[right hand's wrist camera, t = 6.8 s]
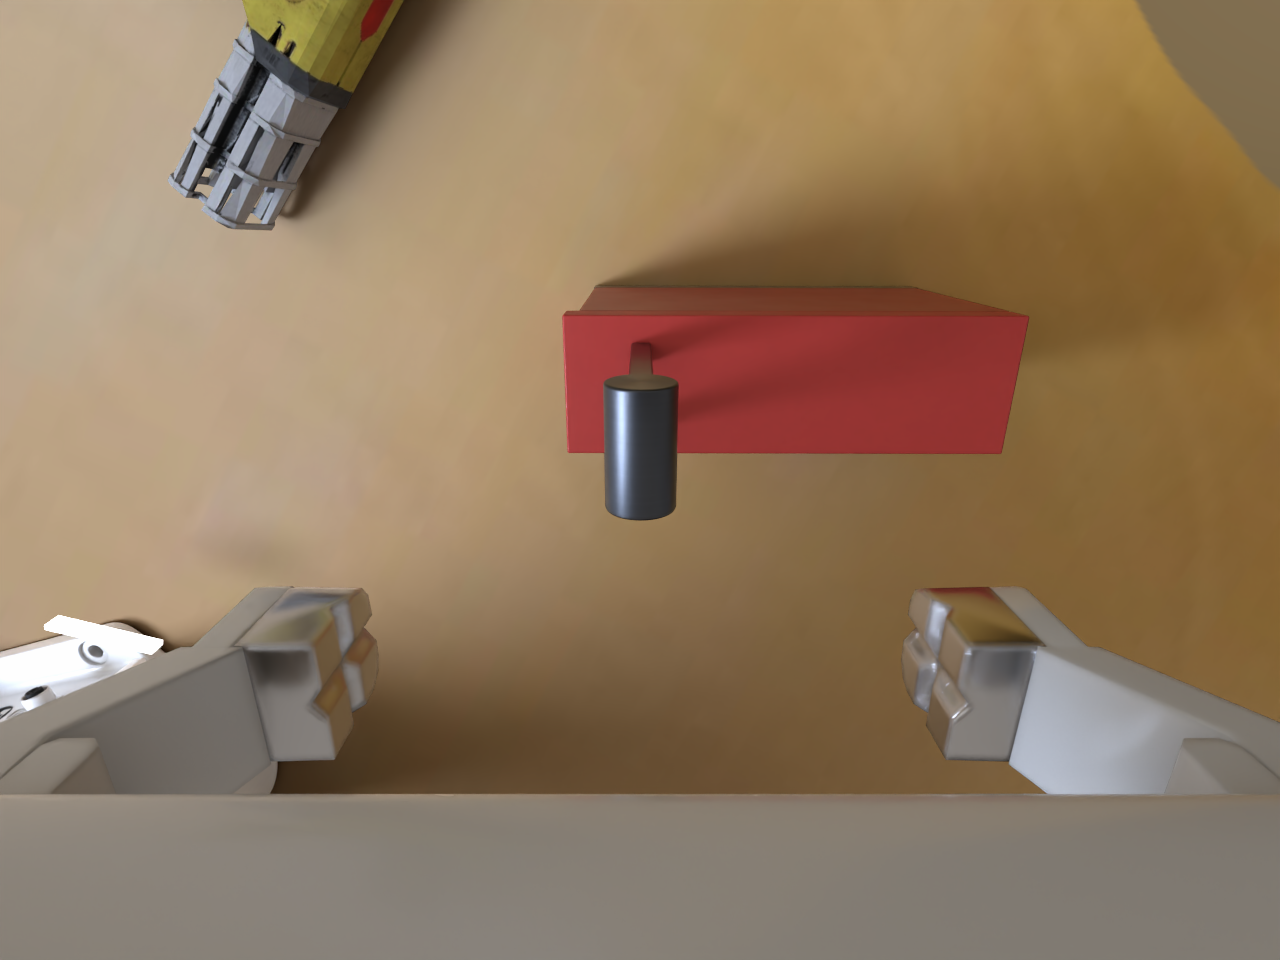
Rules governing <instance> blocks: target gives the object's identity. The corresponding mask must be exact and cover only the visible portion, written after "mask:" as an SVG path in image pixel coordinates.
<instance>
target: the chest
mask: <svg viewBox="0 0 1280 960" xmlns="http://www.w3.org/2000/svg"><path fill="white" fill-rule="evenodd" d="M580 311H849V312H1009V311H1006V310H1002V309H998V308H994V307H990V306H986V305H981V304H977V303H973V302H969V301H965V300H961V299H957V298H953V297H949V296H945V295H941V294H937V293H933V292H929V291H925V290H921V289H918V288H915V287H911V286H595V287H594V290H593V292H592V293H591V295H590V296H589V298H588V299H587V300H586V302H585V303H584V305H583V306H582V308H581V309H580Z"/></svg>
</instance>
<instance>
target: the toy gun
mask: <svg viewBox="0 0 1280 960" xmlns="http://www.w3.org/2000/svg"><path fill="white" fill-rule="evenodd" d="M242 1H243V4H244V8H245V12H246V15H247V20H246V22H245V25H244V27H243V29H242V31H241V33H240V35H239V37H238V39H235V40H234V43H233V48H234V50H233V52H232V54H231V56H230V57H229V59H228V61H227V63H226V65H225V67H224V69H223V71H222V72H221V74H220V76H219V78H216V80H215V82H214V86H215V88H214V90H213V92H212V94H211V96H210V98H209V100H208V102H207V104H206V106H205V108H204V110H203V112H202V115H201V117H200V119H199V121H198V123H197V125H196V127H194V128H193V129H192V131H191V137H192V139H191V141H190V143H189V145H188V147H187V149H186V151H185V153H184V154H183V156H182V158H181V160H180V162H179V164H178V166H177V168H176V170H175V172H174V173H172V174H171V175H170V176H169V179H168V182H169V183H170V184H171V186H172V187H173V188H175V189H176V190H177V191H178V192H179V193H181V194H182V195H183V196H184V197H187V198H198V199H199V200H201V201H202V202H203V203H204V204H205V205H204V207H203V208H202V211H204V212H205V213H206V214H207V215H209V216H210V217H211V218H213V219H214V220H215V221H217V222H218V223H220V224H222V225H224V226H226V227H227V228H231V229H248V230H272V229H273V228H274V226H275V220H276V218H277V216H278V214H279V212H280V211H281V209H282V207H283V205H284V204H285V202H286V200H287V198H288V197H289V195H290V193H291V191H292V190H295V189H296V186H297V180H298V178H299V176H300V174H301V173H302V171H303V169H304V167H305V165H306V164H307V162H308V160H309V158H310V157H311V155H312V153H313V151H314V149H315V148H316V147H318V146H319V145H320V143H321V140H320V138H321V136H322V135H323V133H324V132H325V130H326V128H327V127H328V125H329V124H330V122H331V120H332V119H333V117H334V116H335V114H336V113H337V111H338V109H339V108H341V109H345V108H346V106H347V104H348V102H349V100H350V98H351V96H352V94H353V92H354V90H355V88H356V86H357V84H358V83H359V81H360V79H361V77H362V75H363V74H364V72H365V70H366V68H367V66H368V64H369V63H370V61H371V59H372V57H373V55H374V54H375V52H376V50H377V48H378V46H379V45H380V43H381V41H382V39H383V37H384V35H385V34H386V32H387V30H388V28H389V26H390V25H391V23H392V21H393V19H394V17H395V15H396V14H397V12H398V10H399V8H400V6H401V5H402V3H403V1H404V0H242ZM205 168H210V169H212V171H211V173H210V175H209V177H203V176H202V174H203V172H204V170H205ZM181 183H182V184H181ZM197 184H205V185H210V186H212V187H214V188H213V190H212V192H211V194H210V196H209V198H207V197H206V196H205V195H203V194H202V193H201V192H195V191H194V190H195V188H196V186H197ZM263 189H264V193H263V195H262V197H261V199H260V201H259V203H258V204H257V206H256V208H253V207H254V205H255V204H256V202H257V200H258V198H259V196H260V195H261V193H262V191H263ZM230 193H232V194H233V195H232V196H231V198H230V199H229V200H228V202H227V203H226V205H225V206H224V204H225V202H226V200H227V198H228V197H229V195H230ZM223 206H224V208H223ZM222 208H223V209H222ZM250 213H253V214H254V215H255V216H256V217H258V218H259V219H260V220H262V222H261V224H250V223H245V222H246V220H247V218H248V216H249V214H250Z"/></svg>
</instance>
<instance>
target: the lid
mask: <svg viewBox="0 0 1280 960" xmlns="http://www.w3.org/2000/svg"><path fill="white" fill-rule="evenodd" d="M562 320H563V346H564V372H565V398H566V424H567V450H568V452H569V453H604V460H605V506H606V509H607V510H608V512H609V513H611V514H612V515H614V516H617V517H620V518H623V519H629V520H653V519H658V518H662V517H665V516H667V515H669V514H671V513H672V512H673V511H674V509H675V507H676V482H677V453H857V454H1001V453H1002V448H1003V443H1004V438H1005V434H1006V429H1007V424H1008V419H1009V414H1010V409H1011V404H1012V399H1013V394H1014V389H1015V384H1016V380H1017V375H1018V370H1019V365H1020V360H1021V355H1022V350H1023V345H1024V340H1025V335H1026V330H1027V326H1028V321H1029V316H1026V315H1022V314H1018V313H1014V312H849V311H566V312H565V313H564V315H563V316H562Z"/></svg>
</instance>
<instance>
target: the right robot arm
mask: <svg viewBox="0 0 1280 960" xmlns="http://www.w3.org/2000/svg"><path fill="white" fill-rule="evenodd" d="M371 615H372V611H371V607H370V602H369V597H368V594H367V593H366V592H365V591H364V590H363V589H362V588H330V587H293V586H280V587H259V588H254V589H253V590H252V591H251V592H250V593H249V594H248V595H247V596H246V597H245V598H244V599H243V600H242V601H240V602H239V603H238V604H237V605H236V606H235V607H234V608H233V609H232V610H231V611H230V612H229V613H228V614H227V615H226V616H224V617H223V618H222V619H221V620H220V621H219V622H218V623H217V624H216V625H215V626H214V627H213V628H212V629H211V630H210V631H208V632H207V633H206V634H205V635H204V636H203V637H202V638H201V639H200V640H199V641H198V642H197V643H196V644H195V645H194V646H192V647H180V648H177V649H175V650H172V651H170V652H168V653H165V652H164V651H162V650H161V649H160V647H161V646H162V645H163V640H161V639H157V638H153V637H148V636H144V635H143V634H142V633H140V632H139V631H137V630H136V629H134V628H133V627H131V626H129V625H127V624H124V623H119V622H112V623H107V624H103V625H98V624H93V623H89V622H85V621H81V620H76V619H72V618H68V617H64V616H59V615H58V616H57V617H56V618H54V619H53V620H51V621H50V622H48V623H47V624H45V630H49V631H53V632H57V633H61V634H66V635H62V636H58V637H54V638H50V639H47V640H43V641H39V642H35V643H32V644H28V645H24V646H20V647H16V648H13V649H9V650H5V651H1V652H0V960H1280V722H1277V721H1275V720H1272V719H1270V718H1268V717H1265V716H1263V715H1261V714H1258V713H1256V712H1253V711H1251V710H1249V709H1246V708H1244V707H1241V706H1239V705H1237V704H1234V703H1232V702H1229V701H1227V700H1225V699H1222V698H1220V697H1218V696H1215V695H1213V694H1210V693H1208V692H1206V691H1203V690H1201V689H1198V688H1196V687H1194V686H1191V685H1189V684H1186V683H1184V682H1182V681H1179V680H1177V679H1175V678H1172V677H1170V676H1167V675H1165V674H1163V673H1160V672H1158V671H1155V670H1153V669H1151V668H1148V667H1146V666H1143V665H1141V664H1139V663H1136V662H1134V661H1132V660H1129V659H1127V658H1124V657H1122V656H1120V655H1117V654H1115V653H1112V652H1110V651H1108V650H1105V649H1103V648H1100V647H1088V646H1087V645H1085V644H1084V643H1083V642H1082V641H1081V640H1080V639H1079V638H1078V637H1077V636H1076V635H1075V634H1074V633H1073V632H1072V631H1071V630H1069V629H1068V628H1067V627H1066V626H1065V625H1064V624H1063V623H1062V622H1061V621H1060V620H1059V619H1058V618H1057V617H1056V616H1055V615H1054V614H1052V613H1051V612H1050V611H1049V610H1048V609H1047V608H1046V607H1045V606H1044V605H1043V604H1042V603H1041V602H1040V601H1039V600H1038V599H1037V598H1035V597H1034V596H1033V595H1032V594H1031V593H1030V592H1029V591H1028V590H1027V589H1025V588H1022V587H1019V586H1006V587H965V588H924V589H916V590H915V591H914V593H913V595H912V598H911V600H910V605H909V611H908V615H909V617H910V619H911V620H912V622H913V623H914V625H915V626H916V628H915V629H914V630H913V631H912V632H911V633H910V634H909V635H908V636H907V637H906V638H905V639H904V642H903V650H902V658H901V663H902V674H903V680H904V683H905V687H906V690H907V692H908V694H909V696H910V698H911V700H912V702H913V703H914V704H915V705H916V706H918V707H920V708H921V709H923V710H924V711H926V712H927V713H928V716H927V722H926V726H927V728H928V730H929V732H930V733H931V735H932V737H933V739H934V740H935V742H936V744H937V745H938V747H939V749H940V751H941V752H942V754H943V756H944V758H945V759H946V760H972V761H1009V765H1010V766H1012V767H1013V768H1014V769H1016V770H1017V771H1018V772H1020V773H1021V774H1022V775H1024V776H1025V777H1026V778H1027V779H1029V780H1030V781H1031V782H1033V783H1034V784H1035V785H1037V786H1038V787H1039V788H1041V789H1042V790H1043V791H1045V792H1046V793H1047V794H270V793H271V791H272V789H273V786H274V784H275V780H276V776H277V768H278V762H277V761H307V760H334V759H335V758H336V756H337V754H338V752H339V751H340V749H341V747H342V746H343V744H344V742H345V740H346V739H347V737H348V735H349V733H350V732H351V730H352V728H353V726H354V722H353V716H352V713H353V712H354V711H356V710H357V709H359V708H360V707H362V706H364V705H365V704H366V703H367V702H368V700H369V698H370V696H371V694H372V692H373V690H374V687H375V683H376V678H377V674H378V648H377V641H376V639H375V638H374V637H373V636H372V635H371V634H370V633H369V632H368V631H367V630H366V629H365V628H364V626H365V625H366V623H367V622H368V620H369V619H370V617H371Z"/></svg>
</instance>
